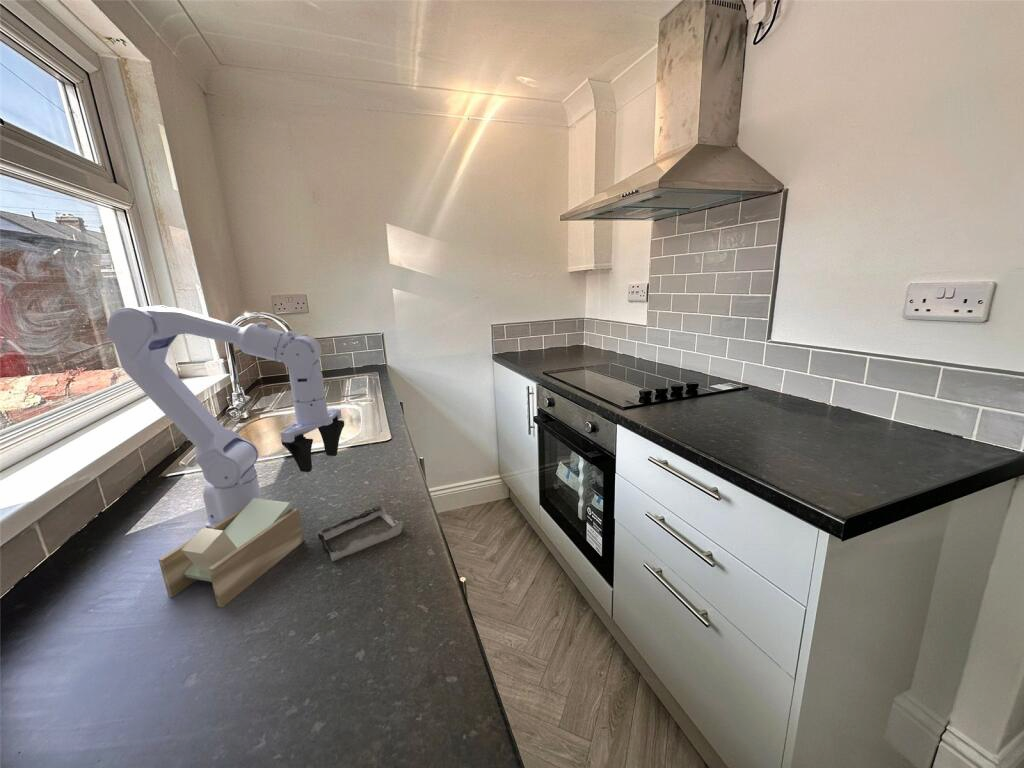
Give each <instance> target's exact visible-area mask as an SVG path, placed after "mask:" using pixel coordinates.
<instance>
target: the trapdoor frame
mask: <svg viewBox="0 0 1024 768" xmlns="http://www.w3.org/2000/svg"><path fill="white" fill-rule="evenodd" d="M244 508H245V507H244ZM244 508H242V509H241V510H239V511H238V512H236V513H234V514H233V515H231V516H229V517H228V518H226V519H224V520H223V521H221V522H219V523H218V524H216V525H214V526H213V527H211V528H210V527H208V528H209V529H216V530H223V531H224V530H225V529H226V527H227V526H228V525H229V524H230V523H231V522H232V521H233V520H234V519H235V518H236V517H237V516H238V515H239V513H240V512H241V511H242V510H243V509H244ZM192 539H193V538H192ZM192 539H189V540H188V541H186V542H184V543H183V544H181V545H179V546H177V547H176V548H174V549H172V550H171V551H170V552H168V553H166V554H164V555H163V556H161V557H159V558H158V564H159V568H160V571H161V574H162V578H163V581H164V584H165V589H166V592H167V596H168V597H170V598H173V597H174V596H176V595H177V594H179V593H180V592H182V591H183V590H184V589H186V588H188V587H189V586H190V585H192V584H193V583H194V582H196V581H197V580H198V579H193V578H188V577H186V576H185V575H184V573H185V572H186V570H187V569H188V568H189V567H190V566H191V565H192V564H193V563H192V561H191V560H190V559H189V558H188V557H187V556H186V555H185V554H184V553H183V552H182V551H181V550H182V549H183V548H184V547H185V546H186V545H187V544H188V543H189V542H190V541H191V540H192ZM303 542H305V539H304V534H303V527H302V522H301V516H300V509H299V508H296V507H295V508H294V509H291V511H290V512H289V513H287V514H286V515H284V516H283V517H282V518H280V519H279V520H277V521H276V522H274V523H273V524H272V525H270V526H269V527H267V528H266V529H264V530H263V531H262V532H260V533H259V534H257V535H256V536H254V537H253V538H251V539H250V540H249V541H247V542H246V543H244V544H243V545H241V546H240V547H239V548H237V549H236V550H234V551H233V552H231V553H230V554H228V555H227V556H226V557H224V558H223V559H221V560H220V561H218V562H217V563H216V564H214V565H213V566H211V567H210V568H209V572H210V576H211V580H212V582H211V583H212V589H213V592H214V596H215V600H216V604H217V607H218V608H223V607H225V606H226V605H227V604H229V603H230V602H231V601H232V600H233V599H235V598H236V597H237V596H238V595H239V594H241V593H242V592H243V591H245V590H246V589H247V588H249V586H251V585H252V584H253V583H255V581H257V580H259V578H260V577H262V576H263V575H264V574H265V573H267V572H268V571H269V570H270V569H271V568H273V567H274V566H275V565H277V564H278V562H280V561H281V560H283V558H285V557H286V556H287V555H289V554H290V553H291V552H292V551H293V550H294V549H296V548H297V547H298V546H299V545H301V544H302V543H303Z"/></svg>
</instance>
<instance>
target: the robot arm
mask: <svg viewBox="0 0 1024 768" xmlns="http://www.w3.org/2000/svg"><path fill="white" fill-rule="evenodd" d="M108 318H109V319H108V321H107V326H106V329H105V332H104V334H105V335H106V337H107V338H108V339H109V340H110V341H111V342H112V343H113V344H114V346H115V349H116V352H117V353H116V354H117V356H118V359H119V362H120V365H121V367H122V369H123V370H124V372H125V373H126V374H127V375H128V376H129V377H130V379H132V381H133V382H135V384H136V385H137V386H138V387H139V388H140V389H141V390H142V391H143V393H145V395H147V397H149V399H151V400H152V402H153V403H154V404H155V405H156V406H157V407H158V408H159V409H160V411H162V413H164V414H165V416H166V417H167V418H168V419H169V420H170V421H171V422H172V423H173V424H174V425H175V427H177V429H178V430H179V431H181V433H182V434H183V435H184V436H185V437H186V438H187V439H188V440H189V441H190V442H191V444H193V446H195V456H194V457H195V458H194V459H195V462H196V464H198V465H199V467H200V468H201V471H202V475H203V477H204V479H205V481H206V482H207V483H206V484H205V485H204V488H203V492H202V497H203V502H204V507H205V510H206V515H207V519H208V522H206V523H205V524H204V528H211V527H213V526H214V525H216V524H218V523H219V522H221V521H223V520H224V519H226V518H228V517H229V516H231V515H233V514H234V513H236V512H238V511H239V510H241V509H242V508H244V507H246V506H247V505H248V504H249V503H250V502H251V501H252V499H253V498H257V499H263V498H262V493H261V488H260V483H259V477H258V473H257V469H256V467H255V464H256V463H257V461H258V459H259V450H258V448H257V446H256V444H254V443H253V442H252V441H249V440H247V439H245V438H243V437H242V436H241V435H240V434H239V433H238V432H237V431H234V430H231V429H227V428H225V427H224V426H223V424H221V423H220V422H219V421H218V420H217V418H216V417H215V416H214V414H212V413H211V412H210V410H209V409H208V408H207V407H206V406H205V404H203V403H202V402H201V400H199V398H198V397H197V396H196V395H195V394H194V392H193V391H192V390H191V389H190V388H189V387H188V386H187V385H186V384H185V383H184V382H183V381H182V379H181V378H180V377H179V376H178V375H177V374H176V373H175V372H174V370H173V369H171V367H170V366H169V365H168V364H167V363H166V360H167V354H168V352H169V348H170V347H171V345H172V344H173V343H174V341H175V339H176V338H177V337H178V336H180V335H184V334H185V335H187V334H188V335H193V336H197V337H201V338H207V339H210V340H214V341H215V340H216V341H220V342H226V343H229V344H234V345H236V346H238V348H239V349H240V351H242V353H244V354H247V355H250V356H255V357H259V358H263V359H266V360H270V361H275V362H278V363H283V364H284V365H285V366H286V368H287V369H288V374H289V383H290V388H291V389H290V390H291V394H292V400H293V401H292V402H293V407H294V414H295V419H296V421H295V422H294V423H292V424H291V425H290V426H288V427H287V428H286V429H284V430H282V431H280V438H281V439H280V440H281V445H282V446H283V447H284V448H285V449H286V450H287V451H288V452H289V454H291V456H292V458H293V459H294V461H295V462H296V465H297V467H298V468H299V471H300V472H302V473H303V472H304V473H311V472H312V469H313V463H312V462H313V461H312V445H313V441H314V439H313V438H306V436H304V435H306V434H308V433H310V432H312V431H314V430H316V429H318V432H319V433H320V436H321V439H322V443H323V448H324V452H325V455H326V456H327V457H329V456H330V457H336V456H337V455H338V449H339V444H340V443H339V442H340V437H341V435H342V431H343V429H344V427H345V421H344V420H341V418H343V417H342V416H343V415H342V409H340V408H331V409H329V410H328V405H327V399H326V391H325V385H324V383H325V382H324V378H323V373H322V368H321V367H322V366H321V362H320V360H319V359H320V358H321V356H322V351H323V350H322V346H321V344H320V342H319V341H318V340H317V339H316V338H315V337H312V336H310V335H308V334H299V335H297V336H296V335H295V334H296V332H295V331H293V330H287V331H282V330H279V329H275V328H271V327H269V326H268V323H266V322H262V321H260V322H257V323H249V324H247V325H245V326H244V327H242V326H239V325H237V324H233V323H229V322H226V321H223V320H219V319H216V318H213V317H209V316H206V315H204V314H201V313H200V314H199V313H196V312H193V311H190V310H186V309H183V308H179V307H170V306H167V305H163V304H156V305H151V306H140V307H133V306H132V307H130V306H128V307H121V308H118V309H117V310H114V311H113V312H112V313H111V315H110V316H109V317H108Z"/></svg>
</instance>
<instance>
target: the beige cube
mask: <svg viewBox="0 0 1024 768" xmlns="http://www.w3.org/2000/svg"><path fill="white" fill-rule="evenodd" d="M209 528H210V527H201V529H200V530H199V531H198V532H197V533H196V534H195V536H194V537H192V540H191V539H190V540H191V541H190V542H189V543H188V544H187V545H186V546H185V547H184V548H183V549H182V550H181V551H182V552H183V553H184V554H185V555H186V556H187V557H188V558H189V559H190V560H191V561H192V563H193V564H194V565H195V566H196V567H197V568H198V569H199V570H203V571H209V568H210V567H211V566H213V565H214V564H216V563H217V562H218V561H220V560H221V559H223V558H224V557H226V556H227V555H228V554H230V553H231V552H233V551H234V550H236V549H237V547H236V546H235V545H234V543H233V542H232V541H231V540H230V538H229V537H228V536H227V535H226V533H225V532H224V531H223V530H216V529H209Z"/></svg>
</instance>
